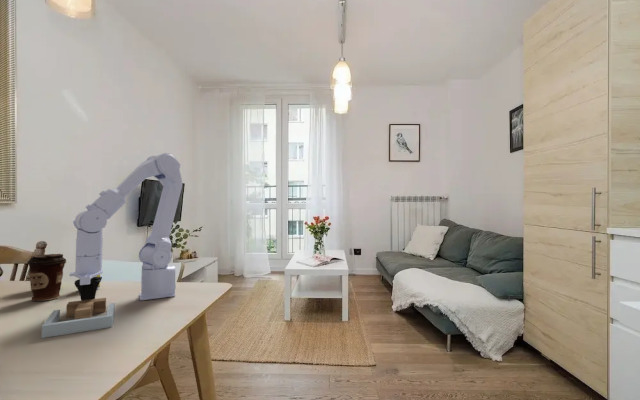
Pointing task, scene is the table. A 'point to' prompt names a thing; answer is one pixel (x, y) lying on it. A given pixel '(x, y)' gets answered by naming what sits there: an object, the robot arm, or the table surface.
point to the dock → (76, 323)
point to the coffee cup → (46, 276)
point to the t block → (85, 308)
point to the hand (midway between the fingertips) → (88, 306)
